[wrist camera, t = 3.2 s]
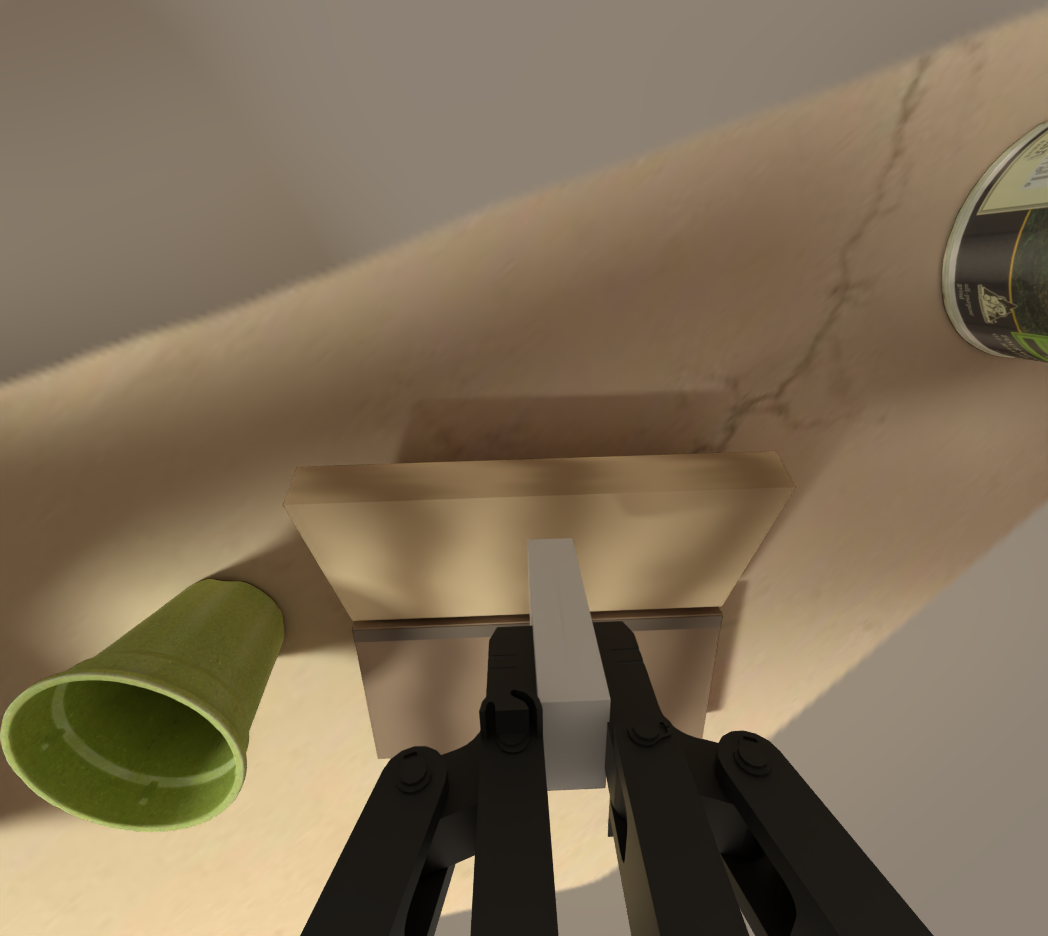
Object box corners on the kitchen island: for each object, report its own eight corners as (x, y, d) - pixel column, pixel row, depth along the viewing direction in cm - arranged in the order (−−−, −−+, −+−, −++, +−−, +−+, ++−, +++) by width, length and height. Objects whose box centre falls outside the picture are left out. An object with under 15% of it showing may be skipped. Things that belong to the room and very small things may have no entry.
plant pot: (351, 625, 28) (289, 766, 20) (248, 705, 31) (156, 861, 23) (216, 519, 26) (84, 633, 18) (113, 615, 28) (-48, 757, 20)
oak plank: (359, 587, 27) (352, 620, 26) (297, 466, 20) (282, 504, 19) (710, 573, 28) (721, 606, 26) (776, 450, 20) (795, 487, 19)
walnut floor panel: (385, 730, 32) (377, 759, 30) (362, 604, 28) (351, 629, 26) (690, 716, 32) (701, 744, 30) (708, 591, 28) (722, 614, 26)
